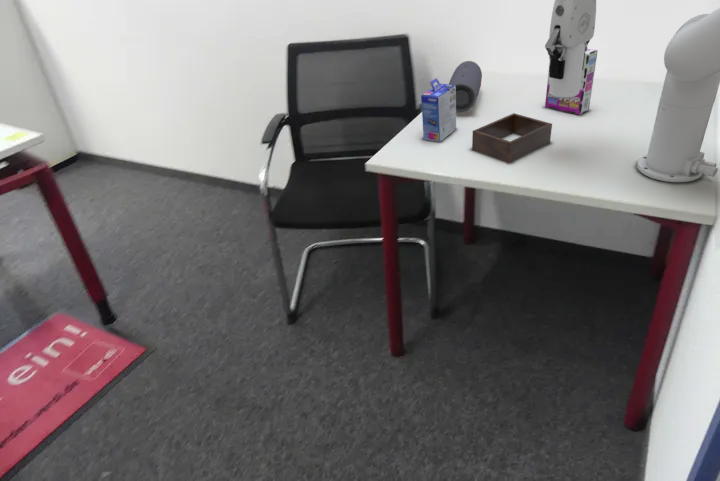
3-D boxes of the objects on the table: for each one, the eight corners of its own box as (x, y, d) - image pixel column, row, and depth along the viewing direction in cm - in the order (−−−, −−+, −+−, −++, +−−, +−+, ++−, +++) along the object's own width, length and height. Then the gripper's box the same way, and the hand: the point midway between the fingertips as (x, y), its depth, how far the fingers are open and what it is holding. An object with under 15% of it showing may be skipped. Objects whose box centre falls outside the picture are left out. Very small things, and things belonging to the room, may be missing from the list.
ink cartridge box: (438, 126, 149) (438, 73, 141) (456, 129, 146) (457, 75, 138) (421, 139, 142) (420, 85, 134) (440, 142, 139) (439, 87, 131)
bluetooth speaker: (477, 117, 152) (478, 82, 146) (444, 116, 154) (444, 82, 149) (482, 90, 170) (484, 58, 165) (453, 90, 172) (453, 59, 167)
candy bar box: (589, 110, 149) (599, 49, 140) (580, 115, 146) (589, 54, 137) (553, 102, 156) (560, 44, 147) (543, 107, 154) (550, 48, 145)
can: (581, 98, 118) (588, 41, 112) (550, 99, 120) (555, 43, 113) (577, 88, 124) (583, 34, 117) (547, 89, 125) (552, 36, 118)
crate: (550, 142, 133) (552, 123, 131) (509, 163, 126) (510, 143, 123) (512, 131, 141) (513, 113, 139) (471, 149, 134) (472, 130, 131)
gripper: (566, -6, 103) (557, 87, 112) (616, -21, 111) (603, 67, 121) (533, -8, 108) (527, 81, 118) (584, -22, 116) (574, 62, 126)
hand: (566, 73), depth 119 cm, fingers closed on can, 6 cm apart
